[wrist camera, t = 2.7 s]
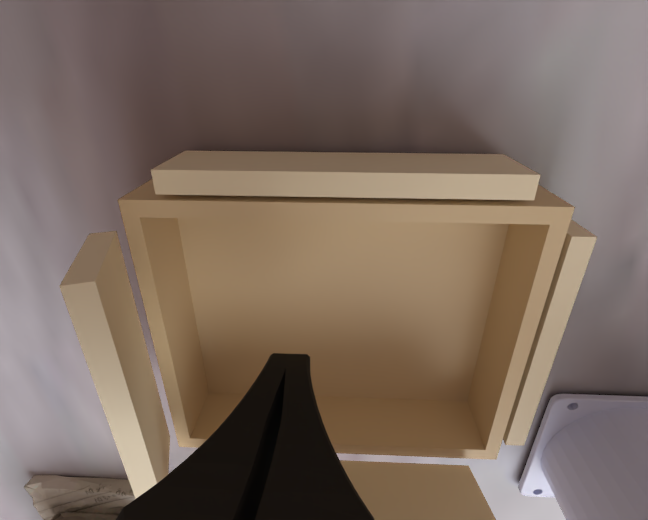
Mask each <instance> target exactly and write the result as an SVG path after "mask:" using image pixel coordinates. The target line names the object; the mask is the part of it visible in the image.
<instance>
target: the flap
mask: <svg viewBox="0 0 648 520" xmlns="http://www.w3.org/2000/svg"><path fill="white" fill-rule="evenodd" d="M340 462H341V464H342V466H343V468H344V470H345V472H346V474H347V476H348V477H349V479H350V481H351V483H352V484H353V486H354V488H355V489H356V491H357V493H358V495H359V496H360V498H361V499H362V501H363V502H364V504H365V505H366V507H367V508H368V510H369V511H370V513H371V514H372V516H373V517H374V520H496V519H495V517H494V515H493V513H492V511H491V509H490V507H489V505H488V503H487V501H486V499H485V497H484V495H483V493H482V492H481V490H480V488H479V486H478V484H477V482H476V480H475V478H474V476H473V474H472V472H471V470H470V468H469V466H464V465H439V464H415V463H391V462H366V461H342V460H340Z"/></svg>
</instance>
